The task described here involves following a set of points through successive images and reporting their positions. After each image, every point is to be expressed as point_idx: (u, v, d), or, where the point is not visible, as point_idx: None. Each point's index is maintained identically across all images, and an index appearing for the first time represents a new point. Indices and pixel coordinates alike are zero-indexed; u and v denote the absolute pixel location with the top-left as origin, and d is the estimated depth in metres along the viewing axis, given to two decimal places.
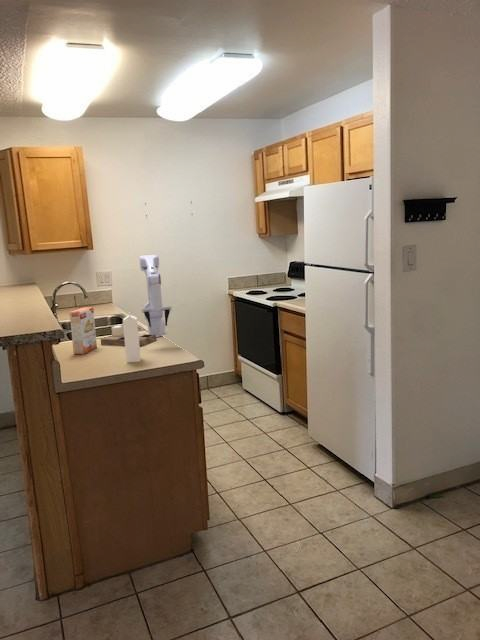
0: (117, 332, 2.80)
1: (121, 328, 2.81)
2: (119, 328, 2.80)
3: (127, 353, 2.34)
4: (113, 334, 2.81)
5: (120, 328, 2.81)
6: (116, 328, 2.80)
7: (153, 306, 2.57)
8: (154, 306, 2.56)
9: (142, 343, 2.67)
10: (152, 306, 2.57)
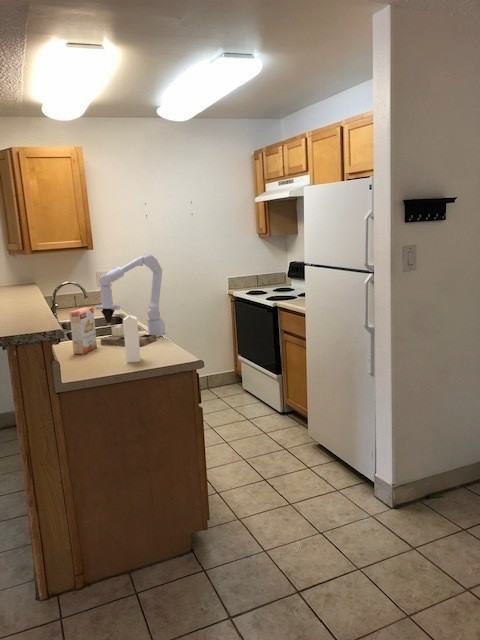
0: (117, 332, 2.80)
1: (121, 328, 2.81)
2: (119, 328, 2.80)
3: (127, 353, 2.34)
4: (113, 334, 2.81)
5: (120, 328, 2.81)
6: (116, 328, 2.80)
7: (102, 305, 2.80)
8: (102, 305, 2.79)
9: (142, 343, 2.67)
10: None
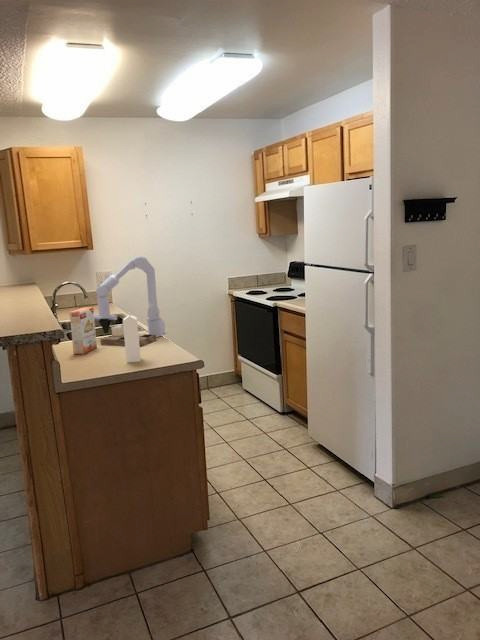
0: (117, 332, 2.80)
1: (121, 328, 2.81)
2: (119, 328, 2.80)
3: (127, 353, 2.34)
4: (113, 334, 2.81)
5: (120, 328, 2.81)
6: (116, 328, 2.80)
7: (99, 315, 2.82)
8: (99, 315, 2.82)
9: (142, 343, 2.67)
10: (99, 315, 2.83)
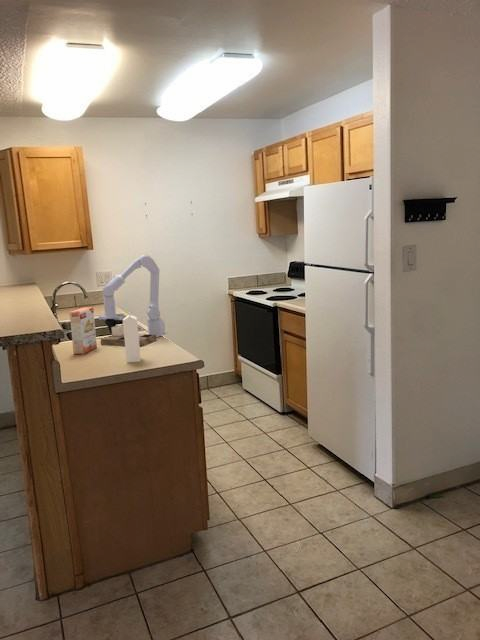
0: (117, 332, 2.80)
1: (121, 328, 2.81)
2: (119, 328, 2.80)
3: (127, 353, 2.34)
4: (113, 334, 2.81)
5: (120, 328, 2.81)
6: (116, 328, 2.80)
7: (105, 315, 2.81)
8: (105, 315, 2.80)
9: (142, 343, 2.67)
10: (105, 315, 2.81)
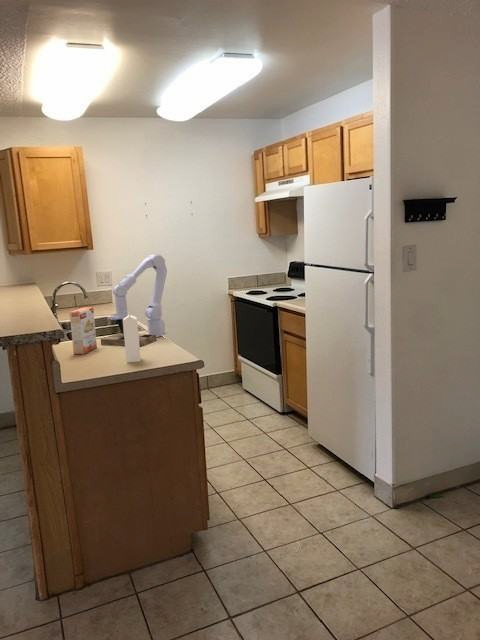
0: None
1: None
2: None
3: (127, 353, 2.34)
4: None
5: None
6: None
7: (117, 315, 2.78)
8: (117, 315, 2.77)
9: (142, 343, 2.67)
10: None
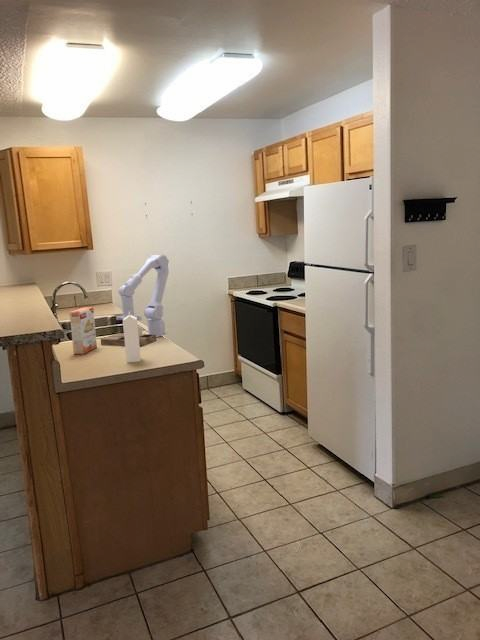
0: None
1: (139, 329, 2.77)
2: (138, 329, 2.75)
3: (127, 353, 2.34)
4: None
5: (138, 329, 2.76)
6: None
7: (123, 315, 2.76)
8: (124, 315, 2.76)
9: (142, 343, 2.67)
10: (123, 315, 2.77)
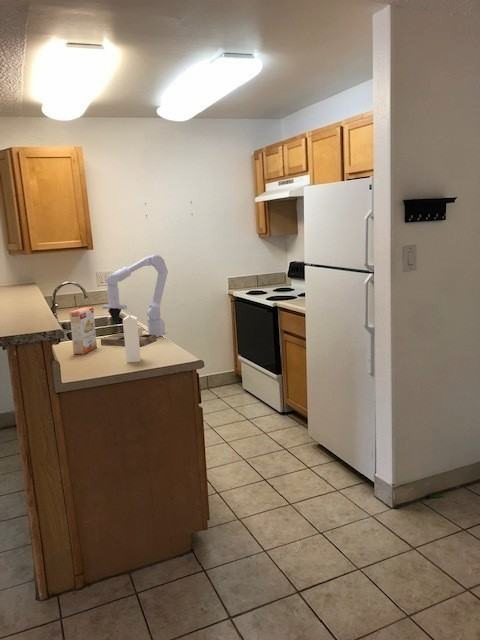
0: None
1: (139, 329, 2.77)
2: (138, 329, 2.75)
3: (127, 353, 2.34)
4: None
5: (138, 329, 2.76)
6: None
7: (109, 304, 2.80)
8: (109, 304, 2.79)
9: (142, 343, 2.67)
10: None
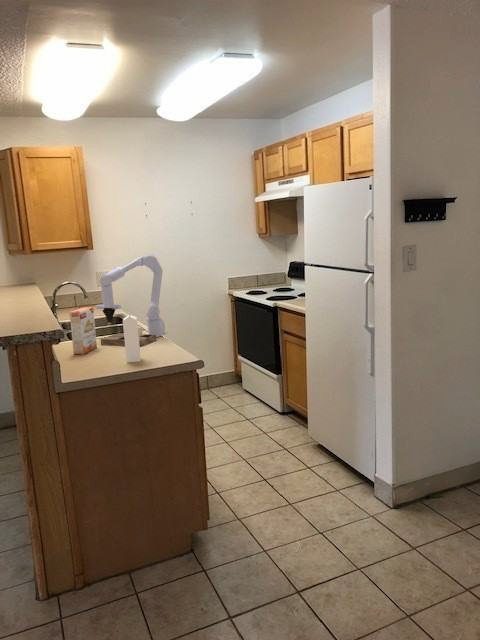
0: None
1: (139, 329, 2.77)
2: (138, 329, 2.75)
3: (127, 353, 2.34)
4: None
5: (138, 329, 2.76)
6: None
7: (103, 304, 2.83)
8: (103, 304, 2.82)
9: (142, 343, 2.67)
10: (103, 304, 2.83)
